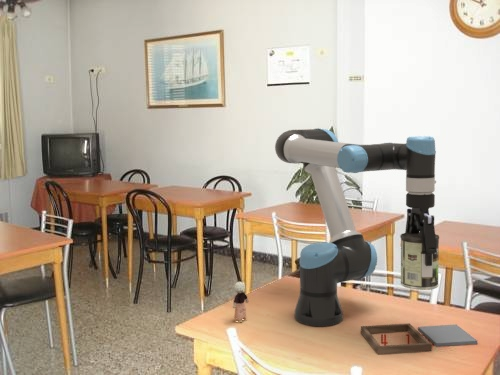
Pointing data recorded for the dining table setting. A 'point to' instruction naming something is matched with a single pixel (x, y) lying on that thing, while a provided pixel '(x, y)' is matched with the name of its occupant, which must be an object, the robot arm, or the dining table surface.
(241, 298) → the grandmother figurine
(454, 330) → the mat
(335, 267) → the robot arm
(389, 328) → the square picture frame
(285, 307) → the dining table surface
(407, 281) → the coffee can
